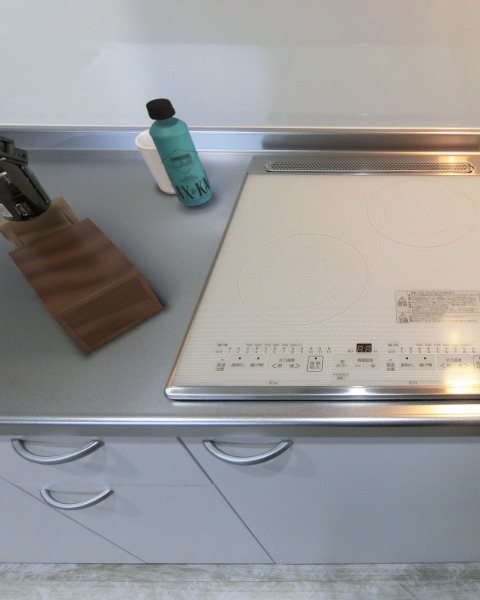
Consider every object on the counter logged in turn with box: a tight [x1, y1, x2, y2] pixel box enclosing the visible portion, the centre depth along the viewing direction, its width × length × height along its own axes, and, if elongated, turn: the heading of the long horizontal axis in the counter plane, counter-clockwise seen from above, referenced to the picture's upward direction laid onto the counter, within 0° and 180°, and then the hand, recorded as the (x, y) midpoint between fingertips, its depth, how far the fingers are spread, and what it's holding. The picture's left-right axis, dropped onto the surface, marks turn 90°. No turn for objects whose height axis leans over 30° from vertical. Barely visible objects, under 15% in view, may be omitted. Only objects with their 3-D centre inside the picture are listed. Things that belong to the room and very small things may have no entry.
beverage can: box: [0, 161, 52, 222], centre depth 64 cm, size 7×7×12 cm
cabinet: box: [7, 217, 164, 354], centre depth 66 cm, size 18×12×9 cm, turn 47°
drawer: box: [0, 195, 80, 250], centre depth 72 cm, size 21×10×7 cm, turn 47°
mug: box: [134, 128, 177, 195], centre depth 87 cm, size 11×9×10 cm
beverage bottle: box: [145, 97, 212, 207], centre depth 79 cm, size 6×7×20 cm
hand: (0, 158), depth 63 cm, fingers closed on beverage can, 7 cm apart
